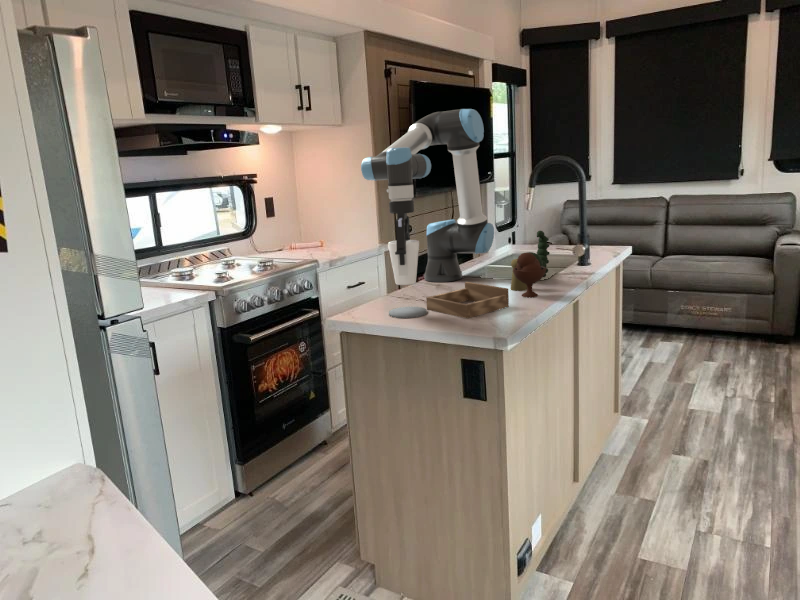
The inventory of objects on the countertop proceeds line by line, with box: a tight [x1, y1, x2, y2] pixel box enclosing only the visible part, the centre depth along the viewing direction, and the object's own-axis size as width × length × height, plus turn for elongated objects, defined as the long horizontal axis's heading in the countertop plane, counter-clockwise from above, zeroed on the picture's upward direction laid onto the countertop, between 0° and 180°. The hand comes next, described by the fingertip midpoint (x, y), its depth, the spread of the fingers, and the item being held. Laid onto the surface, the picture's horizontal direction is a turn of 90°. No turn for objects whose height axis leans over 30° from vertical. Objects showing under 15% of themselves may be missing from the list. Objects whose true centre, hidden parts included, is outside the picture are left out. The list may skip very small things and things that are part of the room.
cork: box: [510, 258, 527, 292], centre depth 220 cm, size 6×6×11 cm
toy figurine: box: [526, 230, 550, 278], centre depth 236 cm, size 9×19×25 cm
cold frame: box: [425, 281, 510, 319], centre depth 197 cm, size 18×18×6 cm
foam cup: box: [387, 239, 420, 286], centre depth 192 cm, size 10×9×13 cm
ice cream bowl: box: [512, 252, 547, 299], centre depth 208 cm, size 11×11×15 cm
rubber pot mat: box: [388, 306, 428, 319], centre depth 196 cm, size 12×12×1 cm
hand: (405, 272), depth 193 cm, fingers closed on foam cup, 9 cm apart
